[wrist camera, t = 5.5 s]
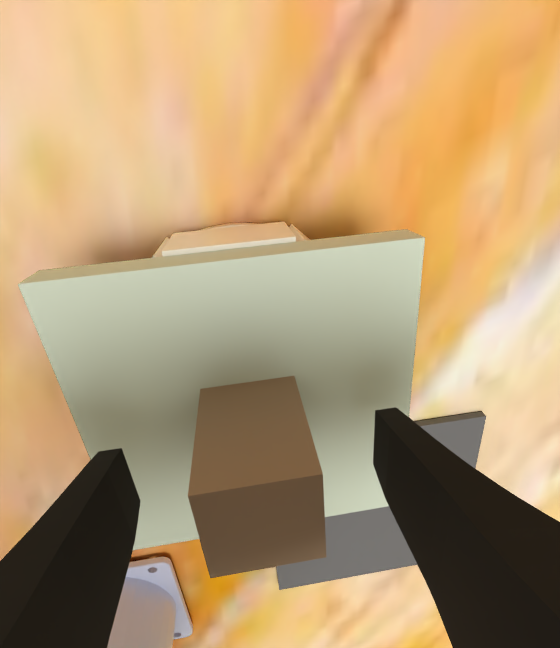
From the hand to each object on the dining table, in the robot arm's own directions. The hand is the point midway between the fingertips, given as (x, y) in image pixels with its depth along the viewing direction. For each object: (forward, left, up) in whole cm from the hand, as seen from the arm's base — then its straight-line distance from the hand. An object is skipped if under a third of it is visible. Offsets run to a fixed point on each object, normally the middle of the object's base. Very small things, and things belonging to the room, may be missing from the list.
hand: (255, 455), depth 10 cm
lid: (0, 0, -3) cm, 3 cm away
